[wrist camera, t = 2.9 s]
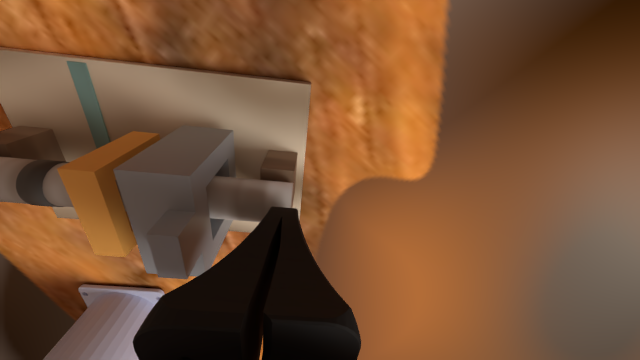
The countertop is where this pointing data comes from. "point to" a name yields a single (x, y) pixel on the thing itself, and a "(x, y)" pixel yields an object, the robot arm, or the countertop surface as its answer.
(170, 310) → the robot arm
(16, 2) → the countertop surface
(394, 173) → the countertop surface
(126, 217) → the orange square ring
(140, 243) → the sleeve
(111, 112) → the pipe rig
